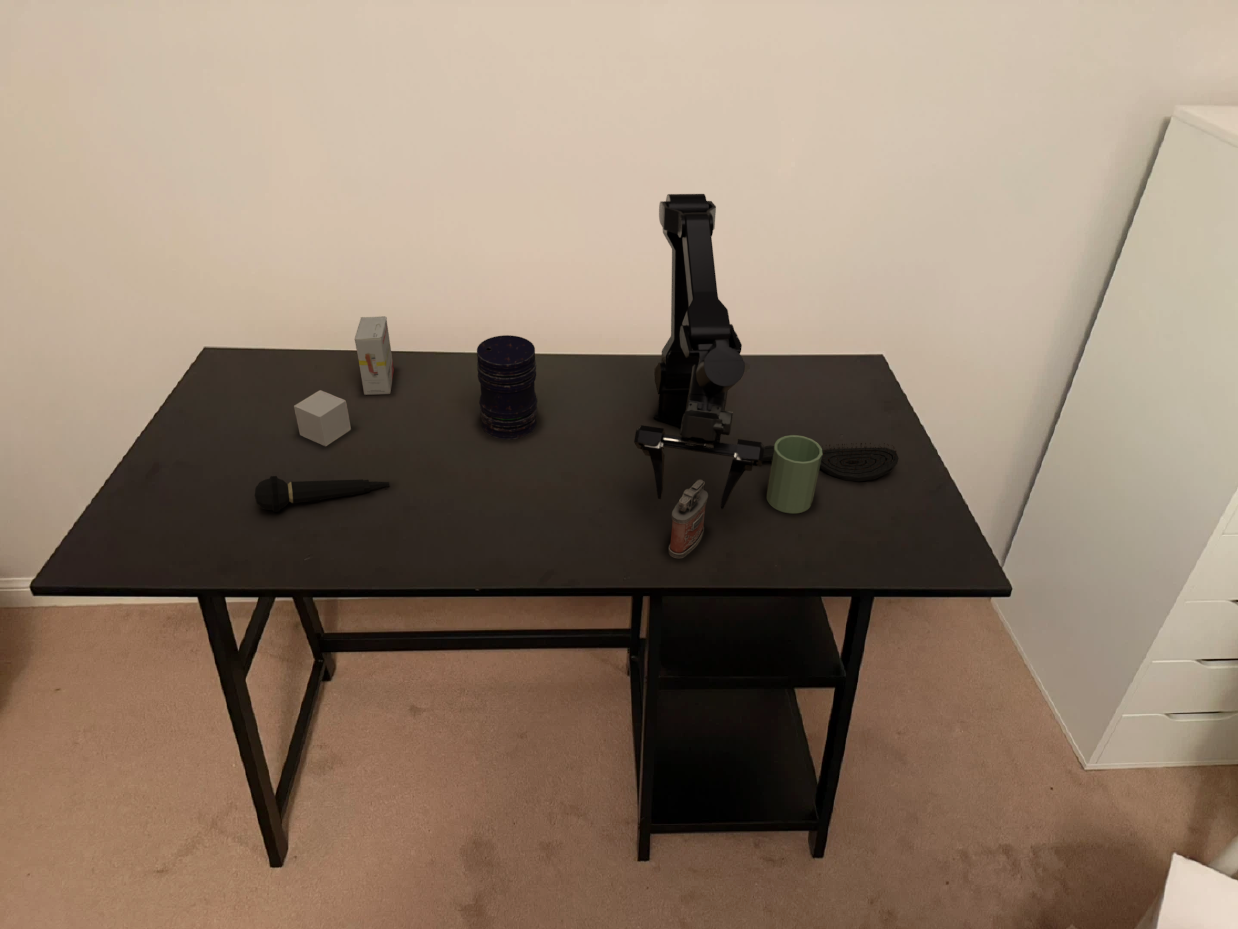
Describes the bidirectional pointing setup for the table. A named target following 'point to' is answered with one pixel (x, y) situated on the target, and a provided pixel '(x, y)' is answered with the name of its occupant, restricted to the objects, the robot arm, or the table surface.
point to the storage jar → (507, 386)
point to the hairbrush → (853, 462)
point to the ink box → (374, 355)
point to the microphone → (308, 491)
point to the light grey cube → (322, 417)
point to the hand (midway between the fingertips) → (690, 503)
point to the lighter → (688, 521)
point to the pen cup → (793, 473)
